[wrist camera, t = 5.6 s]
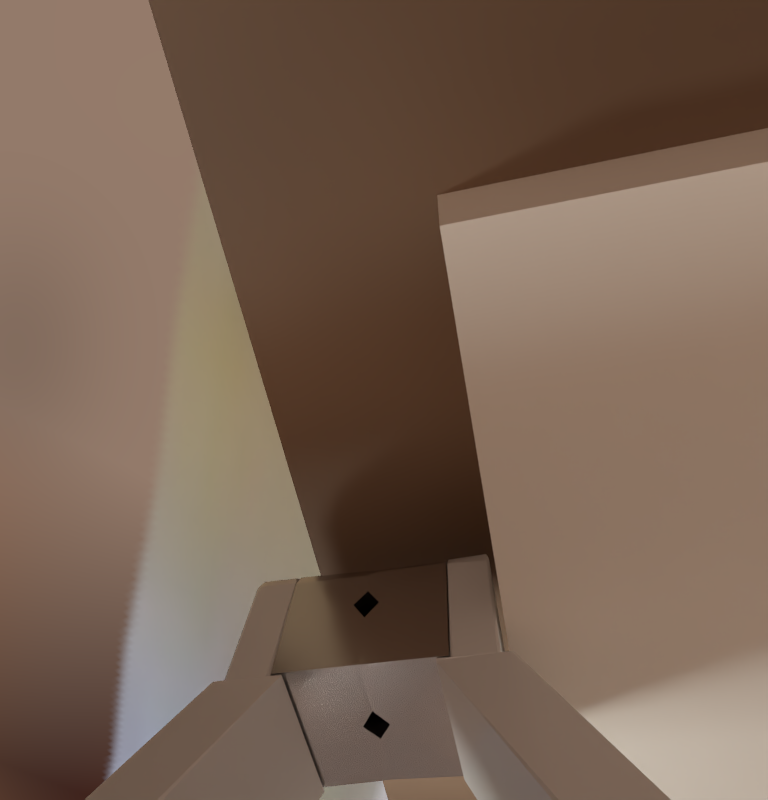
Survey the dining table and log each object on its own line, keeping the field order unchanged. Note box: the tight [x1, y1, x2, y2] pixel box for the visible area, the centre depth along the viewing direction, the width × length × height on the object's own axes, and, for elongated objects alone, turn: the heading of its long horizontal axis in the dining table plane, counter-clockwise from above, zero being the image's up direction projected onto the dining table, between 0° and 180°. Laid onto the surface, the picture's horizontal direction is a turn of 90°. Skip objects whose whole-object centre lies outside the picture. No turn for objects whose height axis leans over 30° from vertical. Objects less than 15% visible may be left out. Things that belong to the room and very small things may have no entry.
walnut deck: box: [149, 0, 768, 800], centre depth 10 cm, size 22×12×4 cm, turn 12°
